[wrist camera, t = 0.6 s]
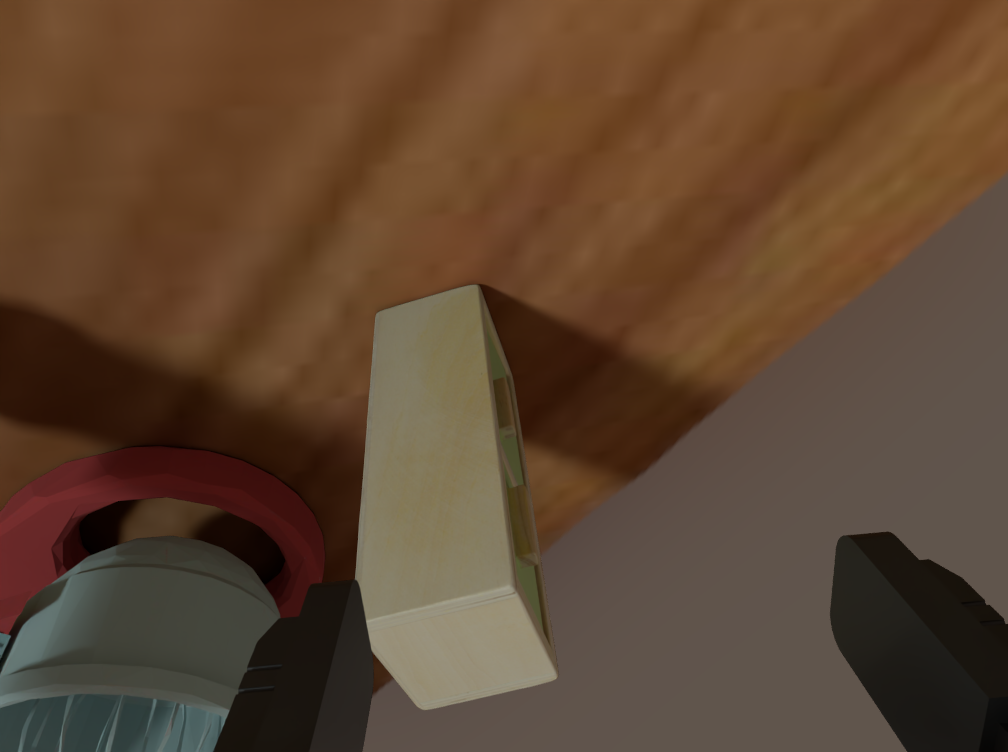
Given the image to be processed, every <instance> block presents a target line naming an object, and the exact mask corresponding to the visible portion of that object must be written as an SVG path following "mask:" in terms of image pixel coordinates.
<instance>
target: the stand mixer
mask: <svg viewBox="0 0 1008 752" xmlns="http://www.w3.org/2000/svg"><path fill="white" fill-rule="evenodd" d="M164 497H169V498H174V499H179V500H185V501H190V502H195V503H201V504H206V505H211V506H216V507H218V508H220V509H222V510H225V511H227V512H229V513H232V514H234V515H236V516H238V517H241V518H243V519H245V520H247V521H250V522H252V523H254V524H256V525H257V526H259V527H260V528H261V529H262V530H263V531H264V532H265V533H266V534H267V535H268V536H269V537H271V538H272V539H273V540H274V541H275V542H276V543H277V545H278V546H279V548H280V550H281V552H282V554H283V556H284V558H285V563H284V566H283V568H282V570H281V572H280V573H279V574H278V575H277V576H276V577H274V578H273V579H272V580H271V581H269V582H268V583H267V584H266V585H264V584H263V583H262V581H261V580H260V578H259V577H258V575H257V574H256V573H255V571H254V570H253V568H251V567H250V566H249V565H248V564H246V563H245V562H243V561H242V560H240V559H239V558H237V557H236V556H234V555H233V554H231V553H230V552H228V551H227V550H225V549H224V548H221V547H218V546H215V545H212V544H210V543H207V542H204V541H201V540H196V539H189V538H182V537H176V536H162V537H150V538H138V539H134V540H131V541H128V542H125V543H122V544H119V545H117V546H114V547H111V548H109V549H106V550H104V551H101V552H98V553H96V554H93V555H91V554H90V553H89V552H88V551H87V550H86V549H85V548H84V547H83V544H82V540H81V536H80V531H79V527H80V522H81V521H82V520H83V519H84V518H85V517H86V516H87V515H88V514H89V513H92V512H94V511H96V510H99V509H101V508H103V507H105V506H108V505H110V504H112V503H115V502H117V501H125V500H138V499H151V498H164ZM324 565H325V549H324V540H323V534H322V532H321V530H320V527H319V525H318V523H317V521H316V518H315V516H314V514H313V513H312V512H311V510H310V509H309V508H308V507H307V505H306V504H305V503H304V502H303V500H302V499H301V498H300V497H299V496H298V494H297V493H295V492H294V491H293V490H291V489H290V488H289V487H287V486H286V485H285V484H284V483H282V482H281V481H280V480H278V479H277V478H276V477H274V476H273V475H270V474H268V473H266V472H264V471H262V470H260V469H258V468H256V467H254V466H252V465H250V464H248V463H246V462H244V461H242V460H238V459H235V458H231V457H228V456H224V455H221V454H217V453H214V452H210V451H204V450H194V449H184V448H174V447H164V446H152V447H130V448H126V449H121V450H117V451H113V452H108V453H104V454H100V455H95V456H91V457H87V458H83V459H79V460H75V461H70V462H66V463H64V464H62V465H61V466H59V467H57V468H55V469H54V470H52V471H50V472H48V473H46V474H45V475H43V476H41V477H39V478H38V479H36V480H34V481H32V482H31V483H29V484H28V485H27V486H25V487H24V488H23V489H21V490H20V491H19V492H17V493H16V494H15V495H13V496H12V498H11V499H10V500H9V502H8V503H7V504H6V506H5V507H4V508H3V510H2V511H1V512H0V752H213V750H214V748H215V745H216V743H217V740H218V738H219V735H220V733H221V730H222V728H223V725H224V723H225V720H226V718H227V715H228V713H229V711H230V708H231V706H232V703H233V701H234V698H235V696H236V694H238V688H239V686H240V683H241V681H242V678H243V676H244V673H245V672H247V666H248V663H249V661H250V658H251V656H252V653H253V651H254V648H255V646H256V643H257V641H258V640H259V639H260V638H261V637H262V636H263V635H264V634H265V633H266V632H267V631H268V629H269V628H270V627H271V626H272V625H273V624H274V623H275V622H276V621H277V620H278V619H279V618H286V617H297V616H299V614H300V611H301V608H302V605H303V602H304V599H305V597H306V594H307V591H308V588H309V586H310V585H311V584H313V583H322V579H323V574H324Z"/></svg>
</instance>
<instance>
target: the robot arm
mask: <svg viewBox="0 0 1008 752" xmlns="http://www.w3.org/2000/svg"><path fill="white" fill-rule="evenodd" d="M830 618H831V625H832V631H833V634H834V638H835V641H836V643H837V645H838V647H839V649H840V651H841V653H842V654H843V656H844V657H845V659H846V660H847V662H848V663H849V665H850V666H851V668H852V669H853V671H854V672H855V674H856V675H857V676H858V678H859V680H860V681H861V683H862V684H863V686H864V687H865V689H866V690H867V692H868V693H869V695H870V696H871V698H872V699H873V701H874V702H875V704H876V705H877V707H878V708H879V710H880V711H881V713H882V714H883V716H884V717H885V719H886V720H887V722H888V723H889V725H890V726H891V728H892V729H893V731H894V732H895V734H896V735H897V737H898V738H899V740H900V741H901V743H902V744H903V746H904V747H905V749H906V750H907V752H1008V624H1005V622H1004V618H1003V617H1002V616H1000V615H999V614H998V613H997V612H996V611H995V610H994V609H993V608H992V607H991V606H990V605H986V604H985V600H984V599H983V598H982V597H981V596H980V595H979V594H978V593H977V592H976V591H975V590H974V589H973V588H972V587H971V586H970V585H969V584H968V583H967V582H966V581H965V580H964V579H963V578H961V577H960V576H958V575H956V574H954V573H952V572H950V571H949V570H947V569H945V568H944V567H942V566H940V565H938V564H936V563H934V562H933V561H931V560H929V559H927V560H919V559H918V558H917V557H916V556H915V555H914V554H913V553H912V552H911V551H910V550H908V548H907V547H906V546H905V545H904V544H903V543H902V542H901V541H900V540H899V539H898V538H897V537H896V536H895V535H894V534H892V533H891V532H879V533H868V534H857V535H846V536H842V537H840V539H839V540H838V543H837V546H836V555H835V566H834V576H833V587H832V598H831V608H830ZM373 678H374V672H373V657H372V650H371V644H370V639H369V634H368V628H367V623H366V617H365V612H364V606H363V601H362V596H361V590H360V586H359V583H358V581H357V580H346V581H335V582H324V583H313V584H311V585H310V586H309V588H308V591H307V594H306V597H305V599H304V602H303V605H302V608H301V611H300V614H299V616H297V617H286V618H279V619H278V620H277V621H276V622H275V623H274V624H273V625H272V626H271V627H270V628H269V629H268V631H267V632H266V633H265V634H264V635H263V636H262V637H261V638H260V639H259V640H258V641H257V643H256V646H255V648H254V651H253V653H252V656H251V658H250V661H249V663H248V666H247V672H245V673H244V676H243V678H242V681H241V683H240V686H239V688H238V694H236V696H235V698H234V701H233V703H232V706H231V708H230V711H229V713H228V715H227V718H226V720H225V723H224V725H223V728H222V730H221V733H220V735H219V738H218V740H217V743H216V745H215V748H214V750H213V752H362V751H363V745H364V740H365V734H366V728H367V722H368V716H369V711H370V705H371V699H372V693H373Z"/></svg>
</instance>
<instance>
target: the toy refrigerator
mask: <svg viewBox="0 0 1008 752" xmlns="http://www.w3.org/2000/svg"><path fill="white" fill-rule="evenodd" d="M355 580H357V581H358V583H359V586H360V590H361V596H362V601H363V606H364V612H365V617H366V623H367V628H368V634H369V639H370V644H371V650H372V652H373V653H374V654H375V656H376V657H377V658H378V659H379V660H380V662H381V663H382V664H383V665H384V666H385V668H386V669H387V670H388V671H389V673H390V674H391V675H392V676H393V678H394V679H395V680H396V681H397V682H398V684H399V685H400V686H401V688H402V689H403V690H404V691H405V693H406V694H407V695H408V696H409V698H410V699H411V700H412V701H413V703H414V704H415V705H416V706H417V707H418V708H420V709H422V710H429V709H435V708H440V707H444V706H448V705H452V704H456V703H462V702H466V701H470V700H475V699H479V698H484V697H487V696H492V695H496V694H501V693H505V692H509V691H513V690H518V689H523V688H527V687H532V686H536V685H540V684H543V683H547V682H551V681H553V680H555V679H557V678H558V665H557V658H556V652H555V645H554V639H553V633H552V626H551V621H550V615H549V608H548V601H547V594H546V587H545V581H544V575H543V569H542V562H541V556H540V549H539V543H538V537H537V530H536V524H535V517H534V511H533V504H532V498H531V491H530V485H529V478H528V471H527V465H526V458H525V452H524V446H523V439H522V432H521V425H520V419H519V413H518V406H517V400H516V393H515V387H514V381H513V377H512V373H511V370H510V367H509V365H508V362H507V359H506V356H505V354H504V351H503V348H502V345H501V343H500V340H499V337H498V335H497V332H496V329H495V326H494V324H493V321H492V318H491V315H490V313H489V310H488V307H487V304H486V302H485V299H484V296H483V293H482V291H481V288H480V286H479V285H468V286H464V287H460V288H456V289H453V290H449V291H446V292H443V293H439V294H436V295H432V296H429V297H425V298H422V299H419V300H415V301H412V302H408V303H405V304H402V305H398V306H395V307H392V308H389V309H385V310H382V311H379V312H378V313H377V314H376V317H375V330H374V343H373V356H372V369H371V381H370V394H369V405H368V418H367V432H366V445H365V458H364V471H363V483H362V496H361V508H360V518H359V532H358V547H357V561H356V574H355Z"/></svg>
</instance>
